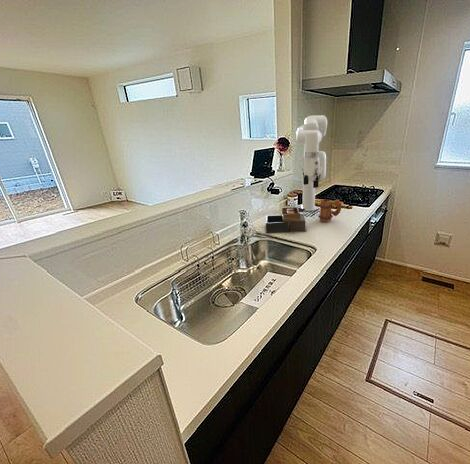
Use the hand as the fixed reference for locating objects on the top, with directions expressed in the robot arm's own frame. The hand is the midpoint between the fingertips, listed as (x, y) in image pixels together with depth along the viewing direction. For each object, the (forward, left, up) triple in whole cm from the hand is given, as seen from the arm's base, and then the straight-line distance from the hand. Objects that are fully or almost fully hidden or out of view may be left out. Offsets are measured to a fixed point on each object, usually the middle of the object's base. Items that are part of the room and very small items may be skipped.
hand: (310, 185), depth 145 cm
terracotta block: (0, -11, -20) cm, 23 cm away
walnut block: (-6, -11, -20) cm, 24 cm away
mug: (-13, +15, -28) cm, 34 cm away
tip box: (-3, -10, -20) cm, 23 cm away
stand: (-3, -8, -27) cm, 29 cm away
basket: (-3, -20, -27) cm, 34 cm away
